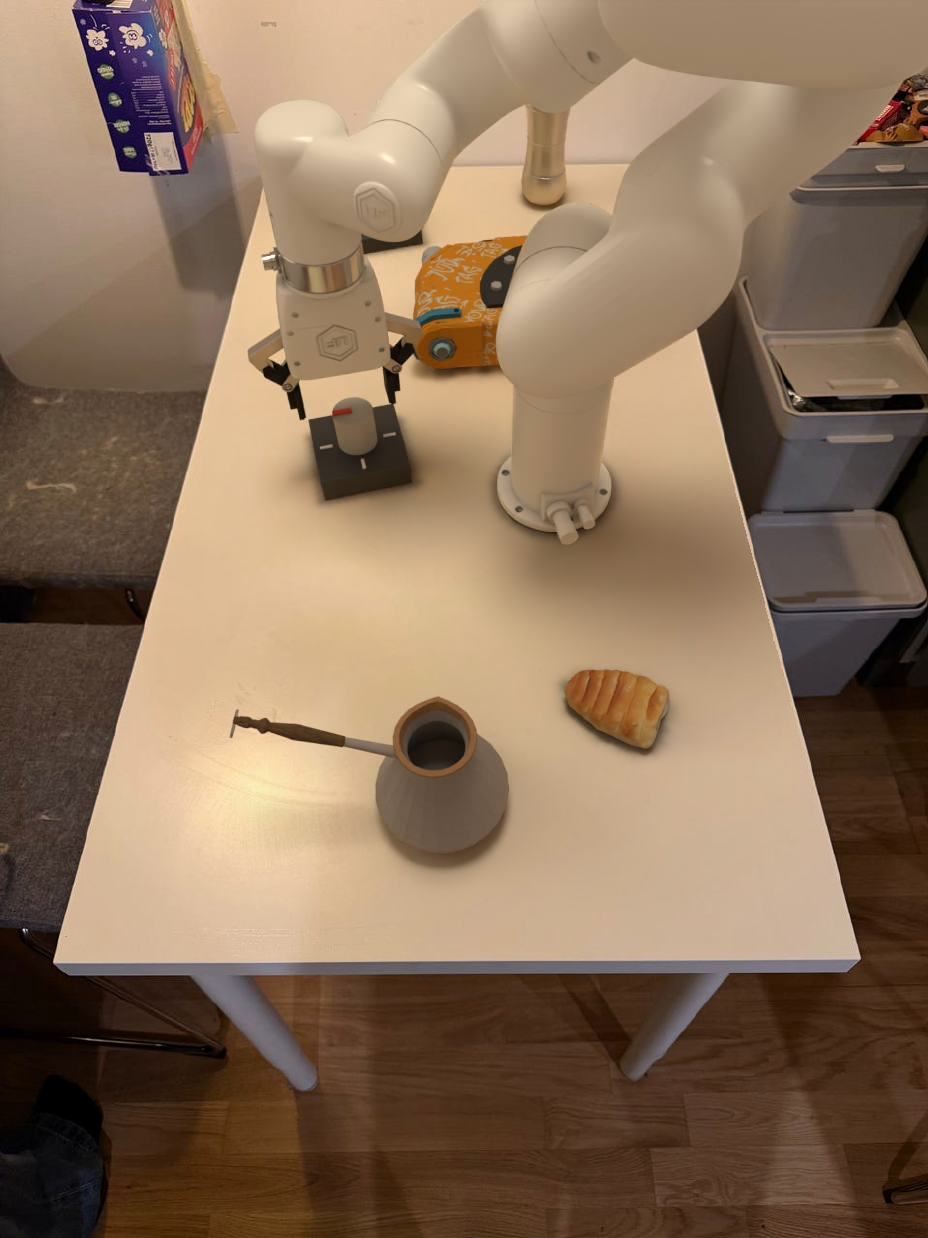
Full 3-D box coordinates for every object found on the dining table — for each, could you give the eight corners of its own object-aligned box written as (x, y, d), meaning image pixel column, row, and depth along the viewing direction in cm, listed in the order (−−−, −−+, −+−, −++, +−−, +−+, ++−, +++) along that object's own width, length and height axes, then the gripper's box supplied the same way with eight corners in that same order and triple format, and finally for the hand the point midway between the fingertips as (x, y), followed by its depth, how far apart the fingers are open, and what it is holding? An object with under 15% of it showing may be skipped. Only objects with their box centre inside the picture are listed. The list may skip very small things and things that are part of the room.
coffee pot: (510, 741, 77) (513, 659, 64) (506, 866, 71) (509, 802, 58) (281, 733, 78) (239, 650, 66) (258, 855, 72) (207, 790, 59)
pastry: (553, 720, 78) (556, 701, 75) (577, 662, 81) (581, 642, 78) (651, 756, 76) (658, 738, 73) (672, 695, 79) (679, 675, 76)
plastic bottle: (543, 180, 127) (551, 31, 110) (574, 199, 124) (587, 48, 107) (511, 197, 125) (514, 47, 108) (542, 216, 122) (550, 65, 105)
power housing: (422, 243, 119) (420, 217, 116) (360, 254, 118) (356, 227, 115) (409, 205, 124) (406, 178, 121) (349, 214, 124) (345, 188, 120)
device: (401, 213, 109) (630, 197, 109) (406, 270, 116) (622, 254, 116) (407, 326, 97) (665, 307, 97) (413, 382, 104) (654, 364, 104)
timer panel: (412, 483, 95) (410, 463, 92) (325, 500, 94) (320, 481, 91) (395, 422, 100) (393, 402, 97) (312, 438, 99) (307, 418, 96)
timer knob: (373, 423, 96) (368, 391, 92) (380, 451, 93) (375, 419, 89) (335, 431, 95) (328, 398, 91) (341, 458, 93) (334, 426, 89)
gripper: (228, 299, 72) (269, 442, 87) (425, 269, 74) (432, 413, 89) (221, 248, 76) (261, 393, 91) (408, 221, 78) (418, 366, 93)
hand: (346, 403), depth 90 cm, fingers open, 9 cm apart
